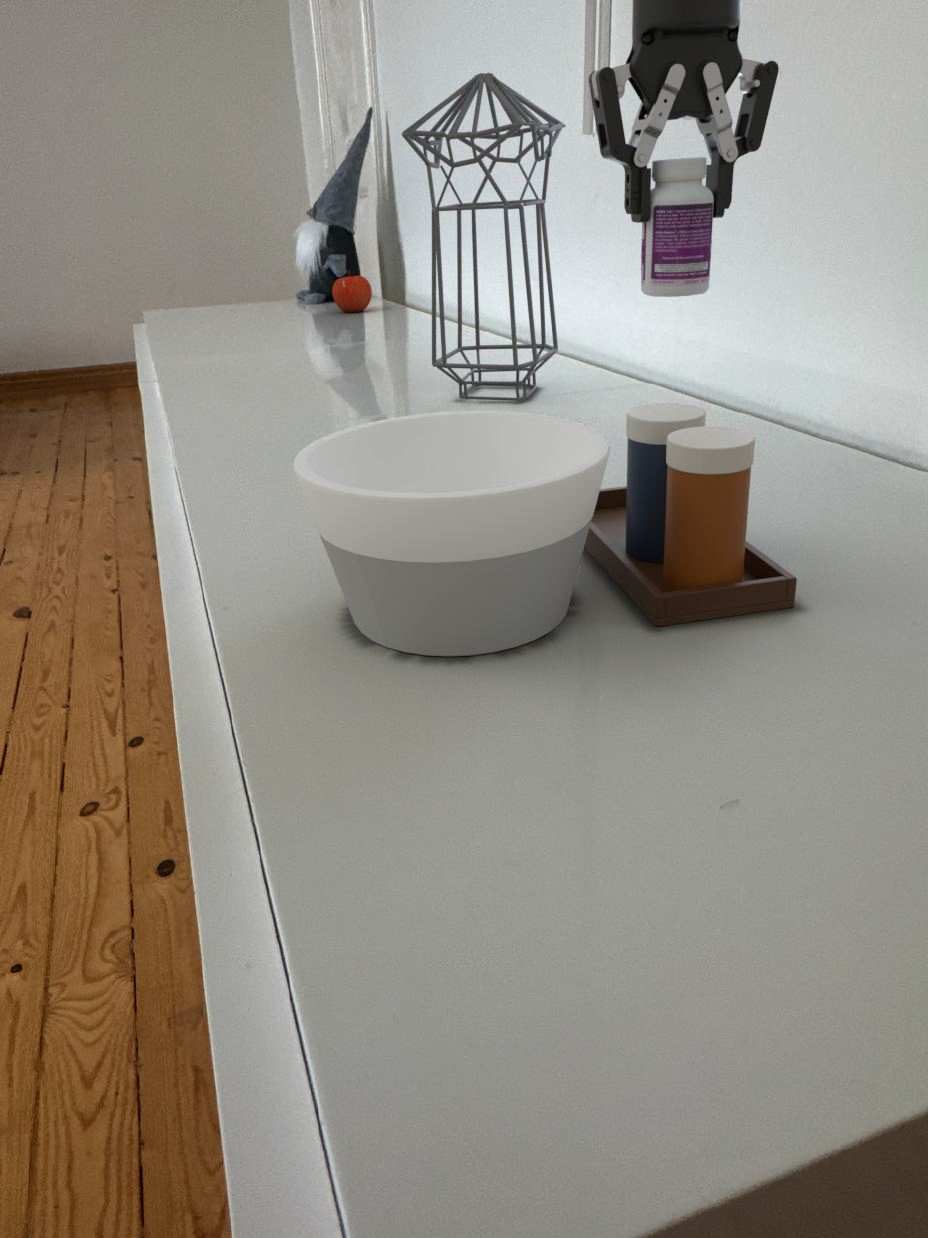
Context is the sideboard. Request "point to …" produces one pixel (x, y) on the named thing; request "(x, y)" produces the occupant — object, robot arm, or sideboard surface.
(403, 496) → the bowl
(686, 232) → the pill bottle
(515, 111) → the geometric lantern
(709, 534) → the amber bottle
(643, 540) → the slate bottle
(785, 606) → the tray
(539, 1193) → the sideboard surface
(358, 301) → the apple
